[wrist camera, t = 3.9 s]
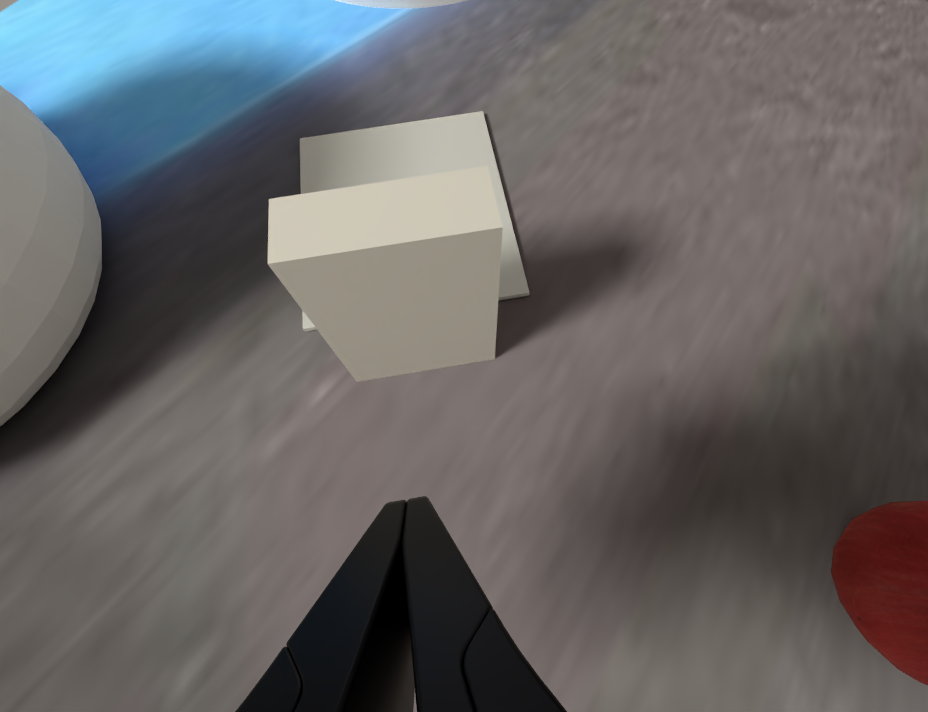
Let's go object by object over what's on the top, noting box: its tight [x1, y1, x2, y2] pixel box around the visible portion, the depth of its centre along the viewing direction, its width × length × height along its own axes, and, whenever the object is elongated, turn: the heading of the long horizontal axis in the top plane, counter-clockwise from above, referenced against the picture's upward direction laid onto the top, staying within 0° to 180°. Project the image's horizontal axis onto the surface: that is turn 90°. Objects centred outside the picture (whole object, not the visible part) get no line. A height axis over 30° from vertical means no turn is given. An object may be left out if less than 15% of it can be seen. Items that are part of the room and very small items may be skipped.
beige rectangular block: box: [268, 166, 503, 382], centre depth 18 cm, size 3×7×10 cm, turn 99°
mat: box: [300, 111, 530, 332], centre depth 26 cm, size 14×12×1 cm
